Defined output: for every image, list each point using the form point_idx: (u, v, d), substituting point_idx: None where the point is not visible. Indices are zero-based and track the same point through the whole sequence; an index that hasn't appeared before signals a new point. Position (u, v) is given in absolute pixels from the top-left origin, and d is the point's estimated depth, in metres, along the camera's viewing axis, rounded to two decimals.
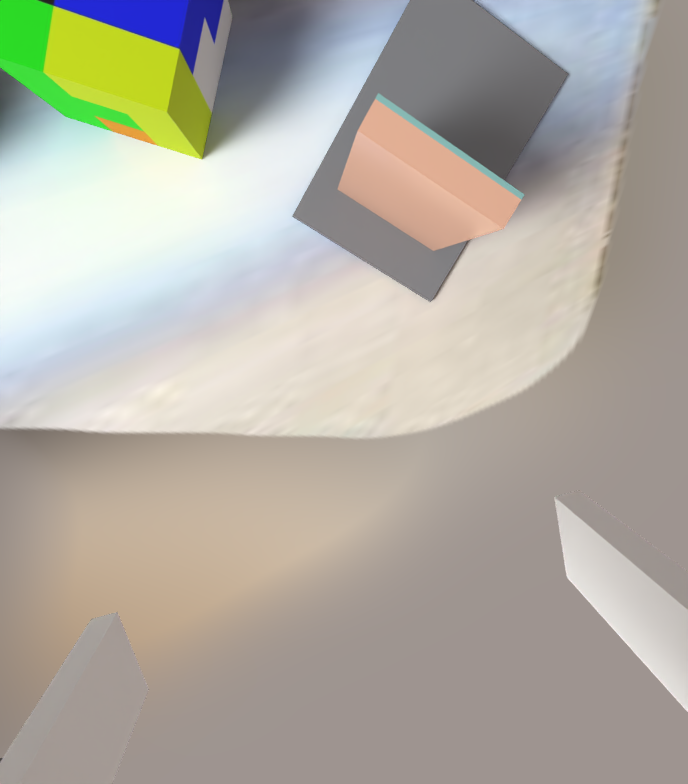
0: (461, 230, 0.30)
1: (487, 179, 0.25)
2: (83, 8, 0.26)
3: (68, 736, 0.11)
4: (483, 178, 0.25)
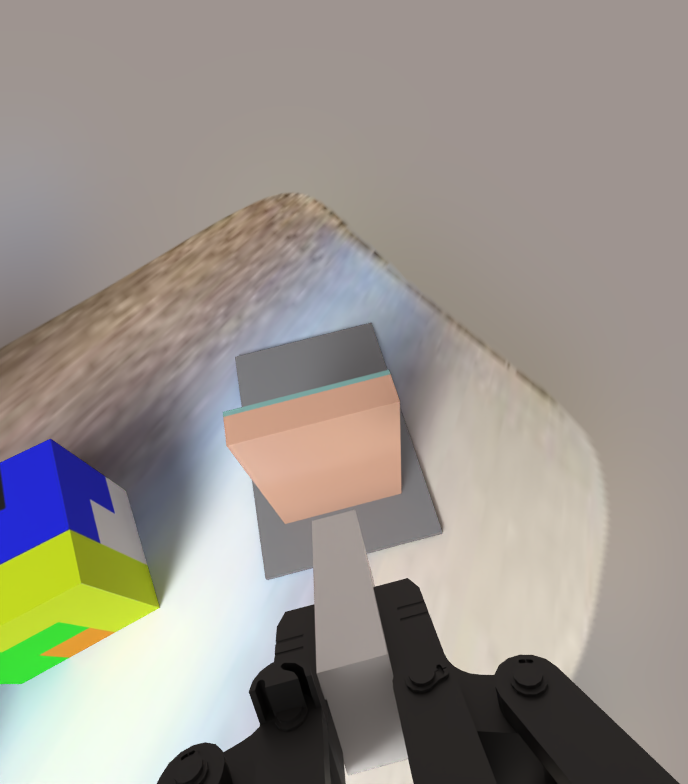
0: (385, 443, 0.29)
1: (352, 386, 0.25)
2: None
3: None
4: (348, 388, 0.25)
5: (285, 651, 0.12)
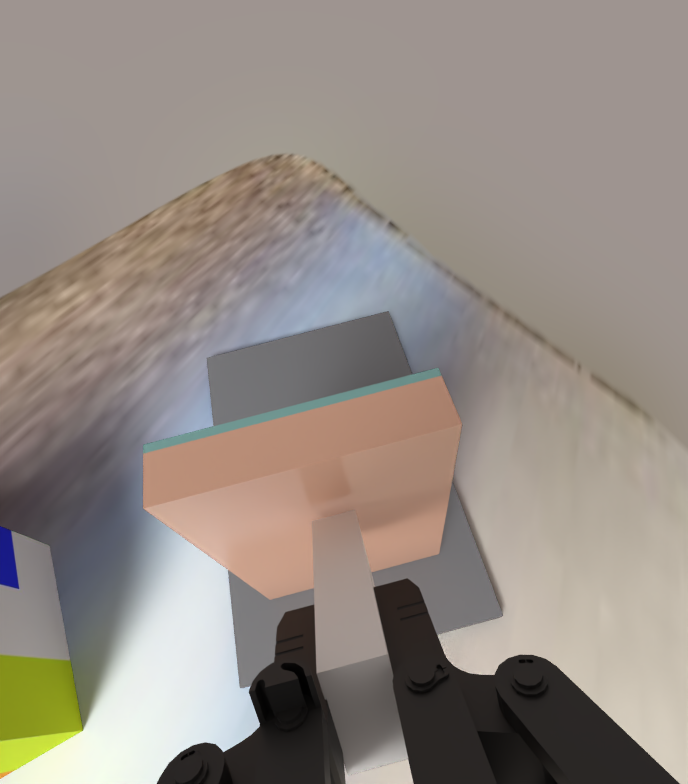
0: (426, 492, 0.17)
1: (373, 397, 0.14)
2: None
3: None
4: (367, 400, 0.14)
5: (285, 651, 0.12)
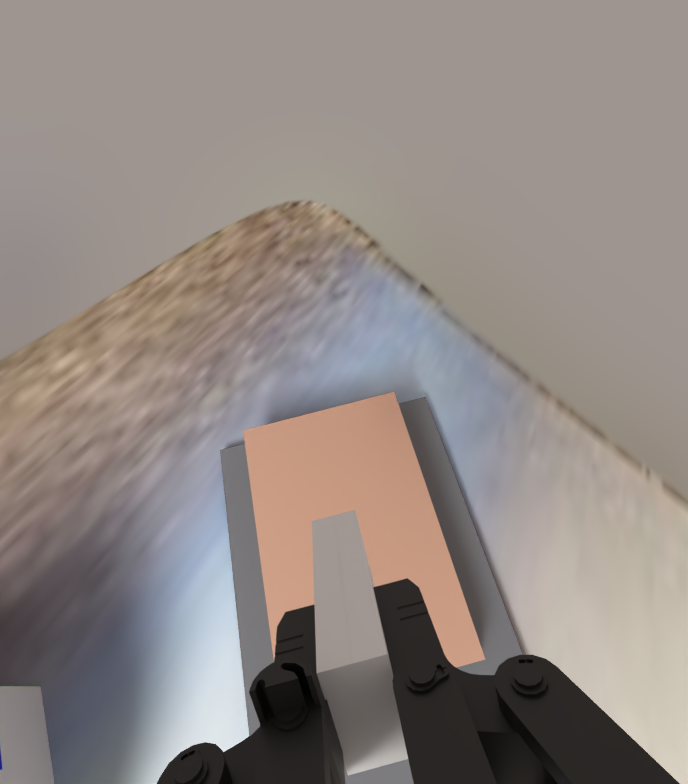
0: (401, 467, 0.26)
1: None
2: None
3: None
4: None
5: (285, 651, 0.12)
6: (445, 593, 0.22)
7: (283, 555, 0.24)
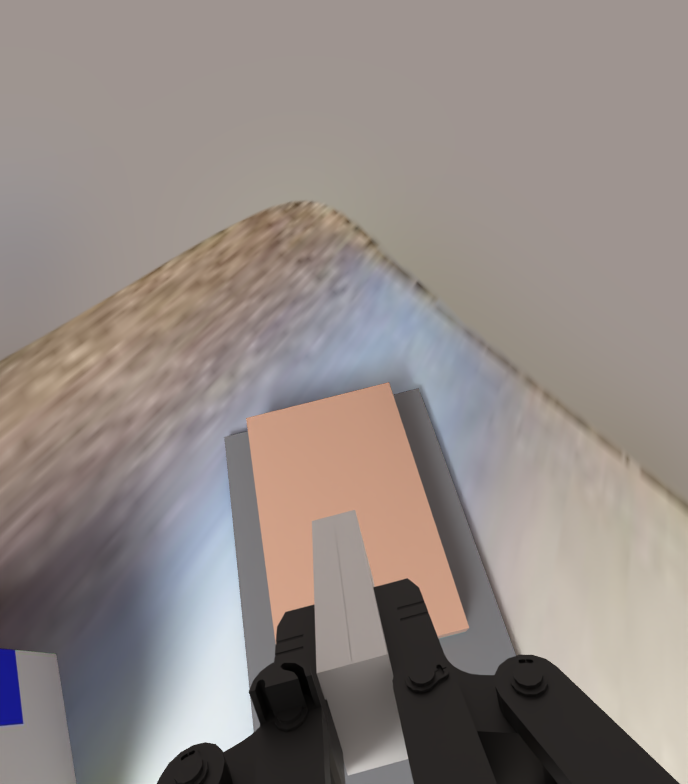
0: (395, 452, 0.27)
1: None
2: None
3: None
4: None
5: (285, 651, 0.12)
6: (433, 568, 0.24)
7: (283, 533, 0.26)
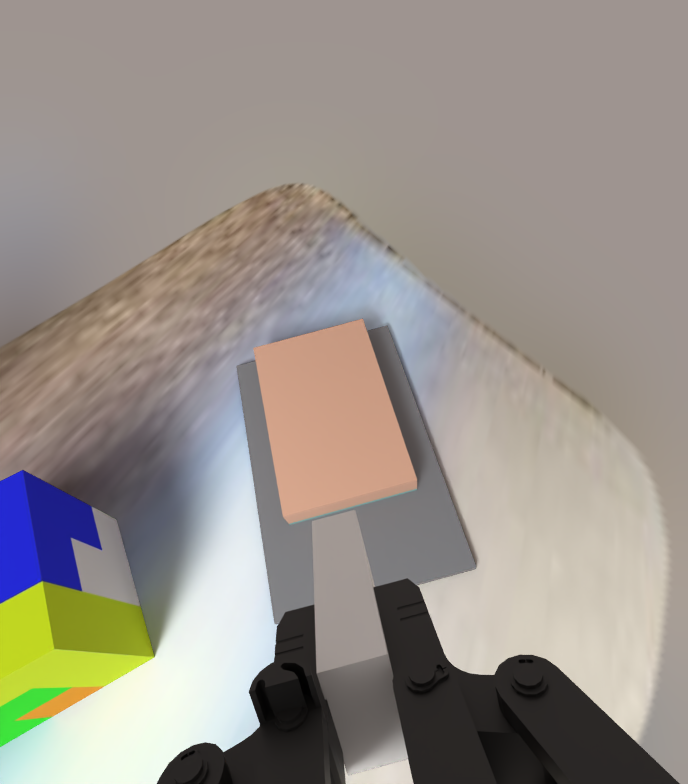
0: (366, 367, 0.36)
1: None
2: None
3: None
4: None
5: (285, 651, 0.12)
6: (393, 443, 0.33)
7: (283, 425, 0.35)
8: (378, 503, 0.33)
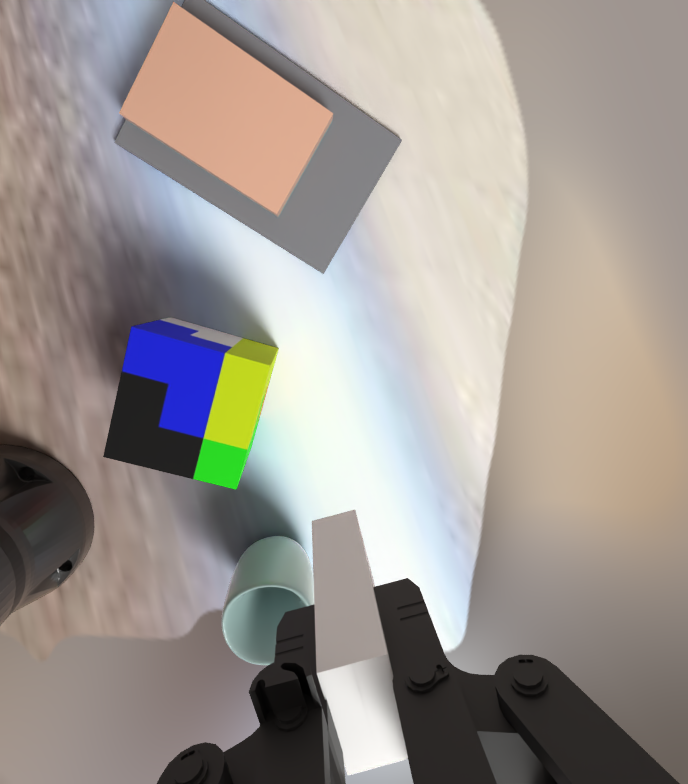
0: (222, 51, 0.37)
1: None
2: (203, 418, 0.36)
3: None
4: None
5: (285, 651, 0.12)
6: (296, 100, 0.38)
7: (213, 155, 0.39)
8: (317, 153, 0.41)
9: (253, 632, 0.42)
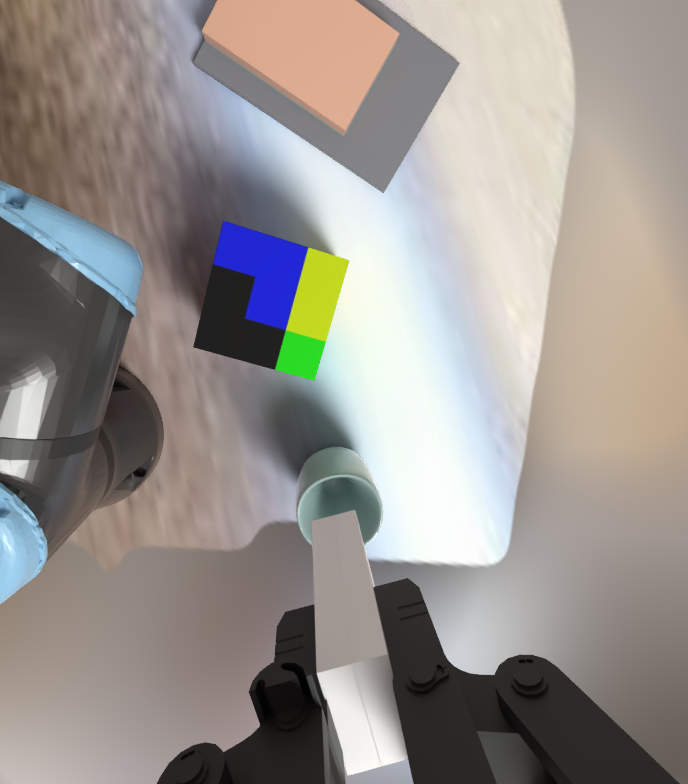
0: None
1: None
2: (286, 311, 0.39)
3: None
4: None
5: (285, 651, 0.12)
6: (366, 20, 0.41)
7: (287, 73, 0.42)
8: (380, 75, 0.44)
9: None
